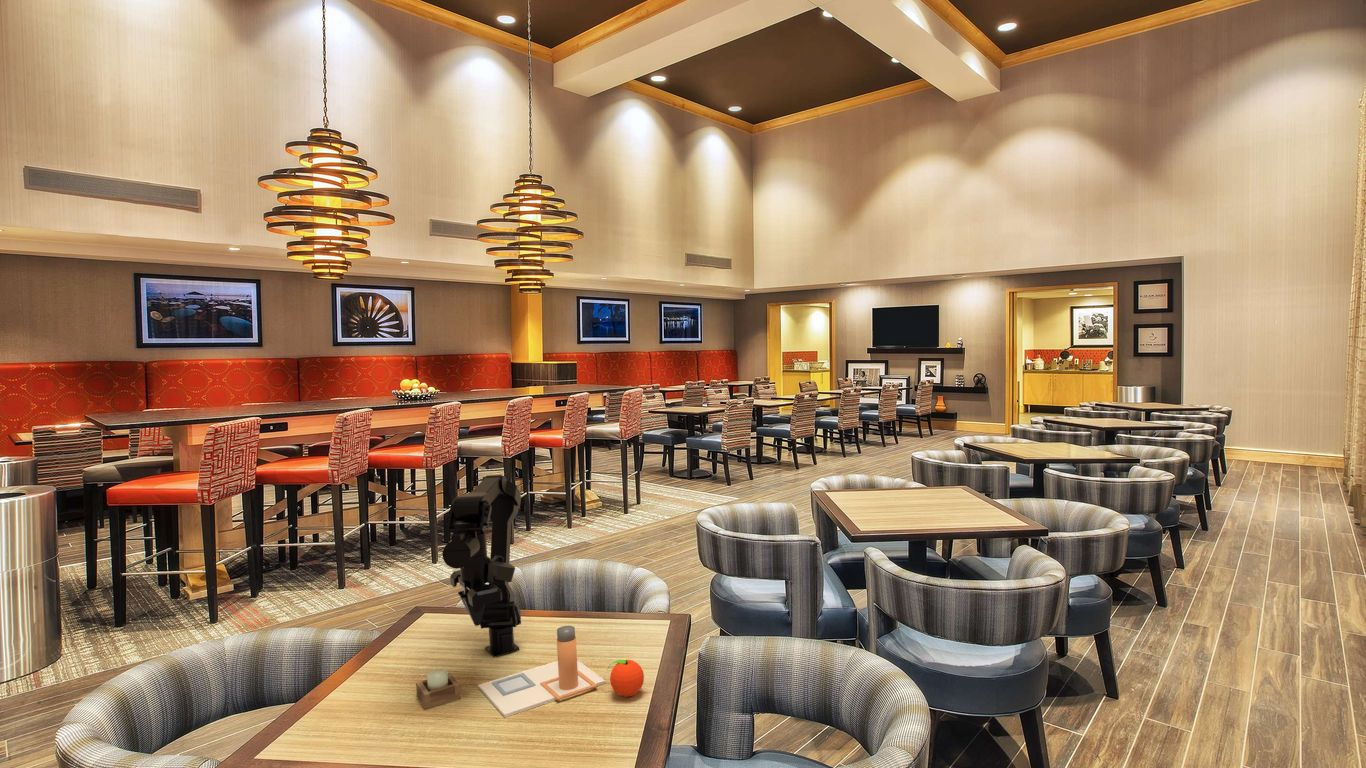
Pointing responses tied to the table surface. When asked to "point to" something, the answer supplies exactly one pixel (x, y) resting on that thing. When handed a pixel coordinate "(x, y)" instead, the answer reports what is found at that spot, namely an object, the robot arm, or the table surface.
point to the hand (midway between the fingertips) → (477, 625)
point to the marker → (567, 658)
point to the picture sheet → (535, 688)
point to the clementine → (626, 677)
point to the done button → (437, 679)
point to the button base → (438, 693)
